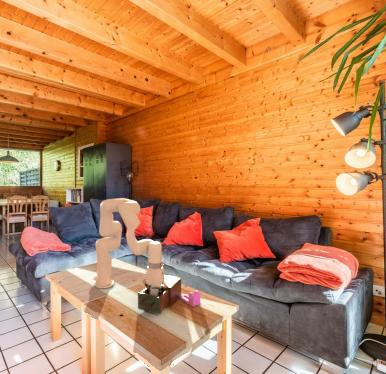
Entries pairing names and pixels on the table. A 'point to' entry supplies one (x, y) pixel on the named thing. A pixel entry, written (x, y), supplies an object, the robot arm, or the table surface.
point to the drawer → (153, 301)
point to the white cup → (154, 290)
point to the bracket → (191, 298)
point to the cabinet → (173, 288)
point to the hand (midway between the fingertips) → (154, 296)
